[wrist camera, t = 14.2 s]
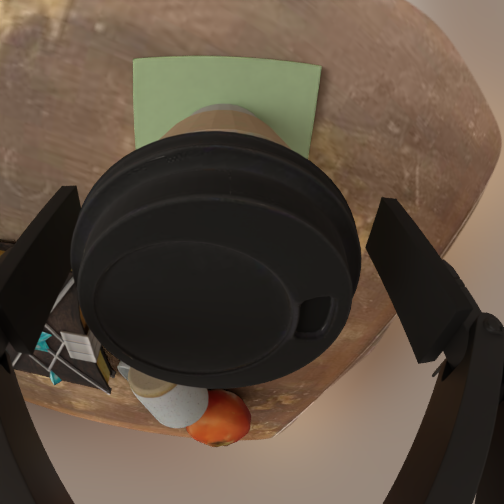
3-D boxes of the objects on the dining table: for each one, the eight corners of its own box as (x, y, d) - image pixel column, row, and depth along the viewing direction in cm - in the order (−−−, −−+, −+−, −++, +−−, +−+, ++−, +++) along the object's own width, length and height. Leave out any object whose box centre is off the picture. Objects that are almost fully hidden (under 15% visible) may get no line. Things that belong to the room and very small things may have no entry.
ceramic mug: (185, 336, 33) (180, 399, 27) (210, 373, 38) (209, 427, 32) (106, 346, 35) (93, 401, 28) (138, 380, 40) (130, 429, 33)
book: (-39, 229, 22) (-64, 258, 19) (90, 245, 25) (71, 284, 21) (15, 351, 35) (5, 378, 31) (117, 373, 38) (111, 405, 34)
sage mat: (319, 65, 18) (322, 66, 17) (295, 217, 25) (297, 221, 25) (135, 58, 17) (132, 59, 16) (143, 214, 24) (142, 218, 24)
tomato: (195, 376, 39) (193, 432, 33) (260, 386, 42) (265, 438, 35) (180, 403, 44) (178, 450, 38) (236, 411, 47) (239, 456, 40)
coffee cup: (310, 171, 22) (395, 348, 10) (195, 224, 24) (177, 413, 12) (253, 51, 17) (316, 77, 5) (125, 121, 19) (-3, 270, 7)
